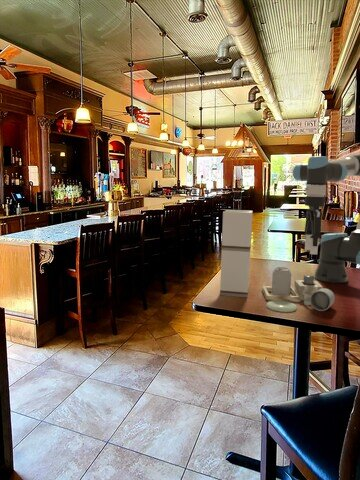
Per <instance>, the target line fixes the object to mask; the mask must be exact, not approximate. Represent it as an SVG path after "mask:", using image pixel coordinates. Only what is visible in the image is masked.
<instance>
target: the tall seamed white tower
mask: <svg viewBox="0 0 360 480" xmlns="http://www.w3.org/2000/svg"><path fill="white" fill-rule="evenodd" d="M253 212H254V211H253V210H245V209H244V210H243V209H242V210H240V209H239V210H238V209H225V210H224V211H223V212H222V233H221V253H220V254H221V256H220V280H219V281H220V282H219V283H220V285H219V286H220V287H219V296H225V297H226V296H228V297H237V298H239V297H240V298H241V297H242V298H248V297H249V289H250V287H249V286H250V267H251V266H250V265H251V251H252V247H251V244H252V230H253V229H252V227H253Z"/></svg>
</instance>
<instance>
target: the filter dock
mask: <svg viewBox="0 0 360 480" xmlns="http://www.w3.org/2000/svg"><path fill="white" fill-rule="evenodd" d="M303 281H304V279H303V280H302V279H301V280H300V279H295V280H294V287H292V286H290V294H291V295H290V296H284V295H272V294H270V293H269V292H272V286H267V285H266V286H265V285H264V286H263V285H262V287H261V288H262V289H261V291H262V293H263V295H264V299H265V301H268V302H269V301H275V300H280V301H287V302H291V303H292V302H293V303H294V302H295V303H300V302H301V301H303V302H304V301H306V300H308V299H310V296H311V295H312V293H314V292H315V291H317V290H319V289H322V288H324V287H323V285H321V284H320V283H319V282H318V280H314V285H303Z"/></svg>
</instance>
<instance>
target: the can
mask: <svg viewBox="0 0 360 480" xmlns="http://www.w3.org/2000/svg"><path fill="white" fill-rule="evenodd" d="M271 278H272V282H271V287H272V292H271V295H284V296H291V293H290V287H292V286H291V284H292V283H291V282H292V272H291V268H290V267H286V266H285V267H284V266H275V267H274V270H272V277H271Z"/></svg>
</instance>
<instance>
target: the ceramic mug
mask: <svg viewBox="0 0 360 480" xmlns="http://www.w3.org/2000/svg"><path fill="white" fill-rule="evenodd" d="M335 297H336V296H335V294H334V292H333V291H332V290H331V289H329V288H326V287H325V288H324V287H323V288H322V289H319V290H317V291H315V292H314V293H312V295H311V296H310V299H308V300H306V301H304V300H303V304H304V306H311V307H312V308H313V309H314V310H315V311H319V312H325V311H327V310H328V309H330V307H332V306H333V304H334V303H335V300H336V299H335Z"/></svg>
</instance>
